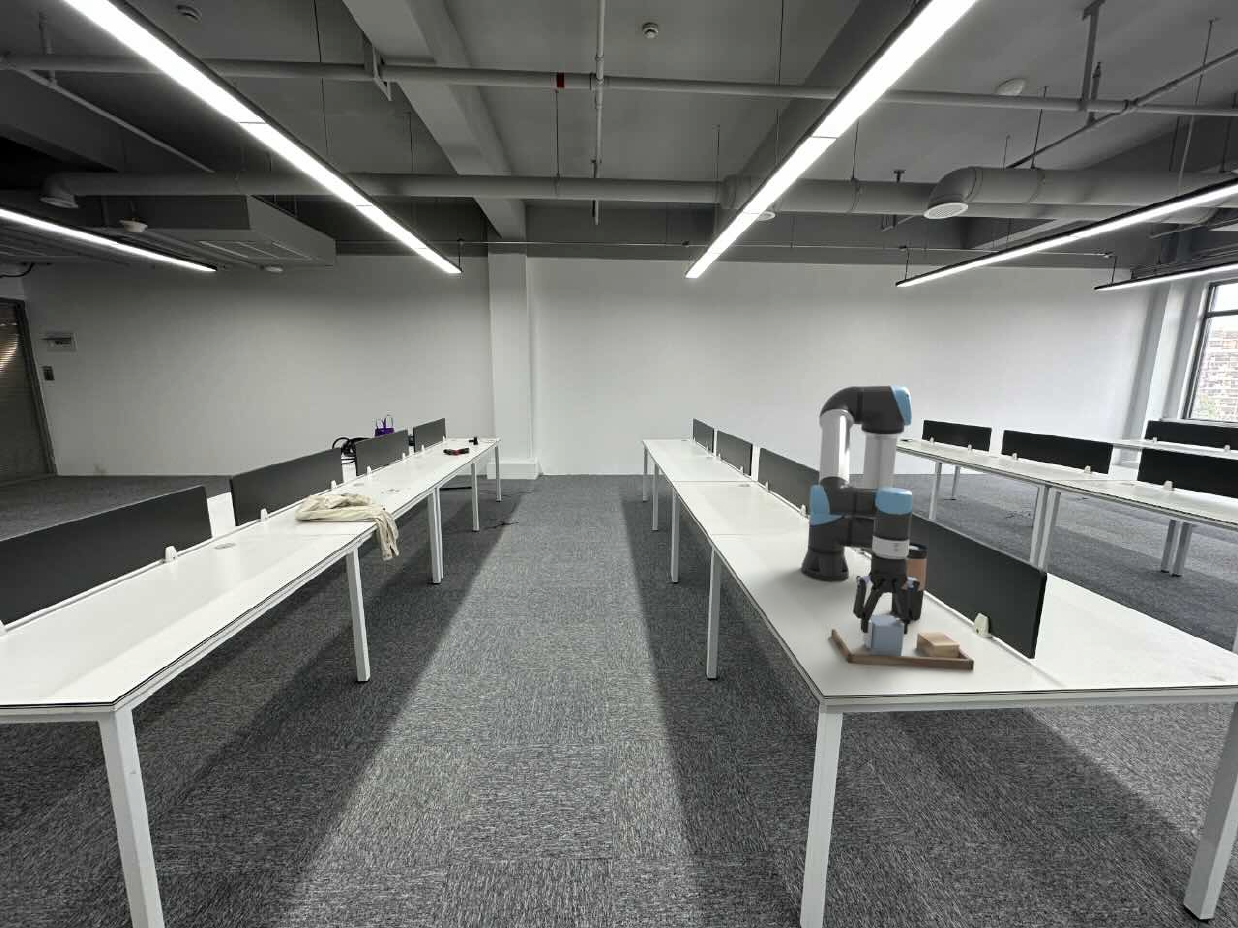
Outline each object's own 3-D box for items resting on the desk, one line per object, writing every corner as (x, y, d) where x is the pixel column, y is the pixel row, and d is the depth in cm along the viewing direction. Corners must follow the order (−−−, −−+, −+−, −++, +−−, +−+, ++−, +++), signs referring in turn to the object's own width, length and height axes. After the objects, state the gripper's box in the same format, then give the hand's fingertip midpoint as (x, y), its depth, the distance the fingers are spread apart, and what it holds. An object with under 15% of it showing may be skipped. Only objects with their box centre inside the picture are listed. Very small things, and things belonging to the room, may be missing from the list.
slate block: (864, 644, 121) (866, 614, 119) (889, 645, 120) (892, 615, 119) (874, 657, 115) (876, 625, 114) (900, 658, 114) (903, 627, 113)
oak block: (916, 648, 119) (917, 632, 118) (939, 647, 119) (941, 632, 118) (933, 661, 113) (935, 645, 112) (957, 660, 113) (959, 644, 113)
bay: (831, 636, 124) (831, 629, 124) (942, 641, 121) (943, 634, 121) (848, 663, 112) (849, 655, 112) (973, 669, 109) (974, 661, 109)
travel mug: (926, 621, 132) (932, 551, 129) (895, 619, 133) (901, 549, 130) (915, 609, 139) (921, 542, 136) (886, 607, 141) (891, 541, 138)
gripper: (852, 558, 111) (846, 651, 114) (942, 560, 109) (933, 655, 112) (841, 547, 118) (835, 635, 122) (925, 550, 116) (917, 639, 120)
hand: (882, 645), depth 117 cm, fingers open, 6 cm apart
